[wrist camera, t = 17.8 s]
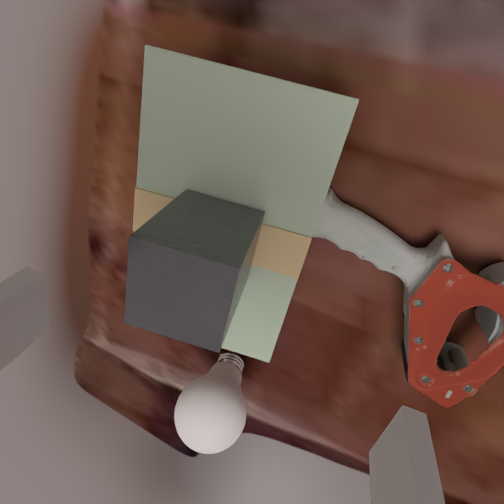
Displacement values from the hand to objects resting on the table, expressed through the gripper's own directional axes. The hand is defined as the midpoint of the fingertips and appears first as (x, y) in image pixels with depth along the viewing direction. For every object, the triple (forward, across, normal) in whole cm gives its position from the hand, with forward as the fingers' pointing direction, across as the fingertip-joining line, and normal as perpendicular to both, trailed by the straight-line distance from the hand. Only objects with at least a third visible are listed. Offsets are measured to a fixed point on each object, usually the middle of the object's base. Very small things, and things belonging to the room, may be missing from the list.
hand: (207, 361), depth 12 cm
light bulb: (+20, -1, -20) cm, 28 cm away
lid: (+11, -3, -1) cm, 12 cm away
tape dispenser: (+21, +14, -4) cm, 25 cm away
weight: (+10, -3, -1) cm, 11 cm away
